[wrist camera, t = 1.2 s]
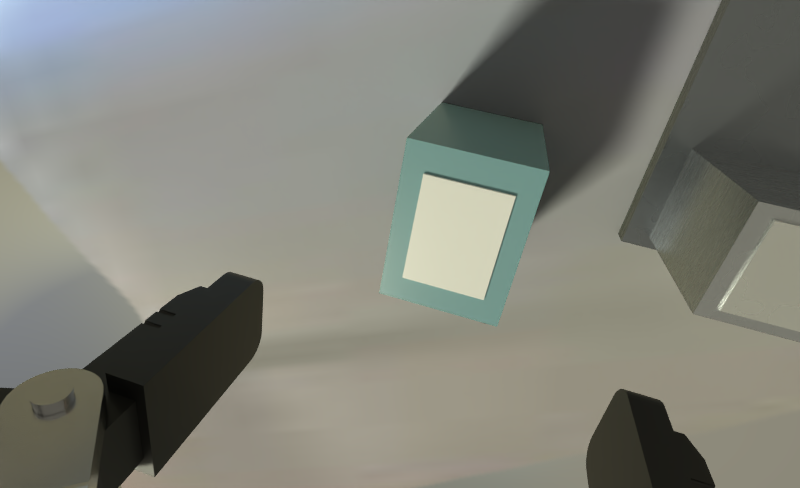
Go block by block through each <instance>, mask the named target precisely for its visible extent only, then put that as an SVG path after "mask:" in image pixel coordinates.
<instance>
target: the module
mask: <svg viewBox="0 0 800 488" xmlns="http://www.w3.org/2000/svg"><path fill="white" fill-rule="evenodd" d="M549 172H550V169H549V163H548V157H547V150H546V144H545V138H544V132H543V126H542V125H541V124H537V123H532V122H528V121H523V120H519V119H514V118H510V117H505V116H501V115H496V114H492V113H487V112H483V111H478V110H474V109H469V108H465V107H460V106H456V105H451V104H447V103H443V102H442V103H441V104H440V105H439V106H438V107H437V108H436V109H435V110H434V111H433V112H432V113H431V114H430V115H429V116H428V117H427V118H426V119H425V120H424V121H423V122H422V123H421V124H420V125H419V126H418V127H417V128H416V129H415V130H414V131H413V132H412V133H411V134H410V135H409V136H408V137H407V141H406V146H405V152H404V158H403V163H402V169H401V174H400V180H399V186H398V191H397V197H396V202H395V208H394V214H393V219H392V225H391V230H390V236H389V242H388V247H387V253H386V258H385V264H384V270H383V275H382V281H381V286H380V292H379V293H381V294H384V295H388V296H391V297H395V298H398V299H402V300H405V301H409V302H412V303H416V304H419V305H423V306H426V307H430V308H433V309H437V310H441V311H444V312H448V313H451V314H455V315H458V316H462V317H465V318H469V319H472V320H476V321H479V322H483V323H486V324H490V325H493V326H497V325H498V322H499V320H500V317H501V314H502V311H503V308H504V305H505V302H506V299H507V296H508V293H509V290H510V287H511V284H512V281H513V278H514V275H515V272H516V270H517V267H518V264H519V261H520V258H521V255H522V252H523V249H524V246H525V243H526V240H527V237H528V234H529V231H530V228H531V225H532V222H533V219H534V217H535V214H536V211H537V208H538V205H539V202H540V199H541V196H542V193H543V190H544V187H545V184H546V181H547V178H548V175H549Z"/></svg>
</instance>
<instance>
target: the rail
mask: <svg viewBox="0 0 800 488" xmlns="http://www.w3.org/2000/svg"><path fill="white" fill-rule="evenodd" d="M618 234H619V237H620V239H621V241H623V242H627V243H631V244H635V245H639V246H643V247H647V248H651V249H655V250H657V251H658V253H659V255H660V257H661V258H662V260H663V262H664V264H665V265H666V267H667V269H668V271H669V273H670V274H671V276H672V278H673V280H674V281H675V283H676V285H677V287H678V288H679V290H680V292H681V294H682V295H683V297H684V299H685V301H686V302H687V304H688V306H689V308H690V310H691V311H692V313H693V314H695V315H699V316H703V317H706V318H710V319H714V320H718V321H721V322H725V323H729V324H733V325H737V326H740V327H744V328H748V329H752V330H755V331H759V332H763V333H767V334H770V335H774V336H778V337H782V338H785V339H789V340H793V341H797V342H800V0H722V1H721V4H720V6H719V8H718V10H717V13H716V15H715V17H714V19H713V22H712V24H711V26H710V28H709V31H708V33H707V35H706V37H705V40H704V42H703V44H702V46H701V49H700V51H699V53H698V55H697V58H696V60H695V62H694V64H693V67H692V69H691V71H690V73H689V76H688V78H687V80H686V82H685V85H684V87H683V89H682V91H681V94H680V96H679V98H678V100H677V103H676V105H675V107H674V109H673V112H672V114H671V116H670V118H669V121H668V123H667V125H666V128H665V130H664V132H663V134H662V137H661V139H660V141H659V143H658V146H657V148H656V150H655V152H654V155H653V157H652V159H651V161H650V164H649V166H648V168H647V170H646V173H645V175H644V177H643V179H642V182H641V184H640V186H639V188H638V191H637V193H636V195H635V197H634V200H633V202H632V204H631V206H630V209H629V211H628V213H627V215H626V218H625V220H624V222H623V224H622V227H621V229H620V231H619V233H618Z"/></svg>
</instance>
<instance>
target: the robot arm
mask: <svg viewBox="0 0 800 488" xmlns="http://www.w3.org/2000/svg"><path fill="white" fill-rule="evenodd" d="M262 310H263V284H262V282H261V281H259V280H256V279H253V278H249V277H246V276H243V275H239V274H236V273H232V272H228V273H226V274H224V275H223V276H222V277H220V278H219V279H218V280H217V281H216V282H214V283H213V284H212V285H211V286H210V287H208V288H205V287H202V286H200V287H197V288H195V289H192V290H190V291H187V292H185V293H182V294H180V295H177V296H176V297H175V298H174V299H172V300H171V301H170V302H168V303H167V304H166V305H164V306H163V307H162V308H161V309H160V311H159V312H155V313H154V314H153V315H152V316H150V317H149V318H148V319H146V320H145V323H144V324H142V323H141V324H140V325H139V326H137V327H136V328H135V329H134V330H132V331H131V332H130V333H129V334H127V335H126V336H125V337H123V338H122V339H121V340H119V341H118V342H117V343H115V344H114V345H113V346H112V347H111V348H109V349H108V350H106V351H105V352H104V353H103V354H101V355H100V356H99V357H97V358H96V359H95V360H94V361H92V362H91V363H90V364H89V365H87V366H86V367H85V368H83V369H77V368H68V369H59V370H53V371H49V372H46V373H43V374H40V375H37V376H35V377H33V378H31V379H29V380H27V381H25V382H23V383H22V384H20V385H19V386H17V387H16V388H0V488H121V484H122V483H123V482H124V481H125V479H126V478H127V477H128V476H129V475H130V474H131V473H132V472H133V470H137V471H139V472H142V473H145V474H147V475H150V476H153V477H155V476H156V475H157V474H158V472H159V471H160V470H161V469H162V468H163V466H164V465H165V464H166V463H167V462H168V460H169V459H170V458H171V457H172V455H173V454H174V453H175V452H176V451H177V449H178V448H179V447H180V446H181V444H182V443H183V442H184V441H185V440H186V438H187V437H188V436H189V435H190V434H191V432H192V431H193V430H194V429H195V427H196V426H197V425H198V424H199V423H200V421H201V420H202V419H203V418H204V417H205V415H206V414H207V413H208V412H209V410H210V409H211V408H212V407H213V406H214V404H215V403H216V402H217V401H218V399H219V398H220V397H221V396H222V395H223V393H224V392H225V391H226V390H227V389H228V387H229V386H230V385H231V384H232V382H233V381H234V380H235V379H236V378H237V376H238V375H239V374H240V373H241V372H242V370H243V369H244V368H245V367H246V365H247V364H248V363H249V362H250V361H251V359H252V358H253V356H254V355H255V353H256V351H257V348H258V346H259V343H260V339H261V334H262ZM586 469H587V477H588V485H589V488H715V484H714V482H713V479H712V477H711V474H710V472H709V469H708V467H707V464H706V462H705V460H704V458H703V457H702V456H701V455H700V453H699V452H698V451H697V449H696V448H695V447H694V446H693V445H692V443H691V442H690V441H689V439H688V438H687V437H686V436H685V434H682V433H678V432H675V431H673V428H672V426H671V423H670V420H669V417H668V415H667V412H666V409H665V406H664V404H663V403H662V402H661V401H660V400H658V399H654V398H651V397H648V396H644V395H641V394H638V393H634V392H631V391H627V390H624V389H620V390H618V391H617V392H616V393H615V395H614V396H613V398H612V400H611V402H610V404H609V406H608V408H607V410H606V411H605V413H604V415H603V417H602V419H601V421H600V423H599V425H598V426H597V428H596V430H595V432H594V434H593V436H592V438H591V440H590V443H589V446H588V451H587V458H586Z"/></svg>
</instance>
